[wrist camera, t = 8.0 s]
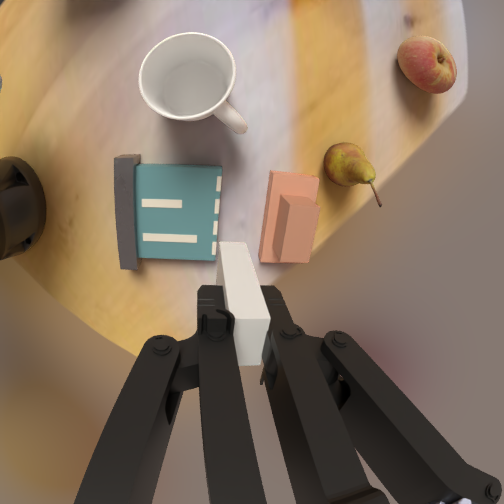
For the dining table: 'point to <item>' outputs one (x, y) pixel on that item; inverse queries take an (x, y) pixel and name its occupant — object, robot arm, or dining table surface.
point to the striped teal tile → (177, 210)
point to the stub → (289, 218)
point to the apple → (427, 64)
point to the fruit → (349, 166)
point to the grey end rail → (126, 210)
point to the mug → (190, 80)
